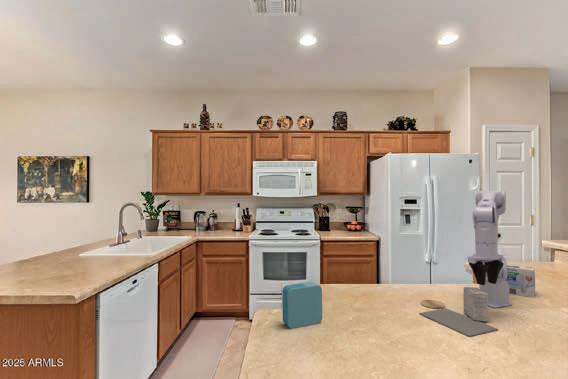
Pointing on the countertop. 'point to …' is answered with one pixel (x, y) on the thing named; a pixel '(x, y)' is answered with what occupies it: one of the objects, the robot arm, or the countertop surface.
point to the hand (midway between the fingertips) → (486, 283)
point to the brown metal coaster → (433, 304)
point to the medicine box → (476, 304)
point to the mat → (458, 322)
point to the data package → (302, 304)
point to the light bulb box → (521, 280)
